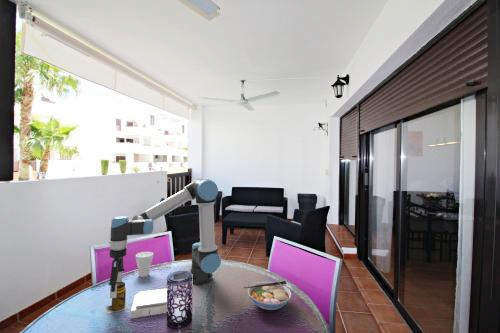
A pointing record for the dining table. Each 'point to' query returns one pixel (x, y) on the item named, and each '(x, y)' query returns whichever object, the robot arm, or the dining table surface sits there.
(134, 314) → the base
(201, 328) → the dining table surface
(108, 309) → the condiment
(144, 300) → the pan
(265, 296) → the ramen bowl
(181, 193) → the robot arm
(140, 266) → the cup
